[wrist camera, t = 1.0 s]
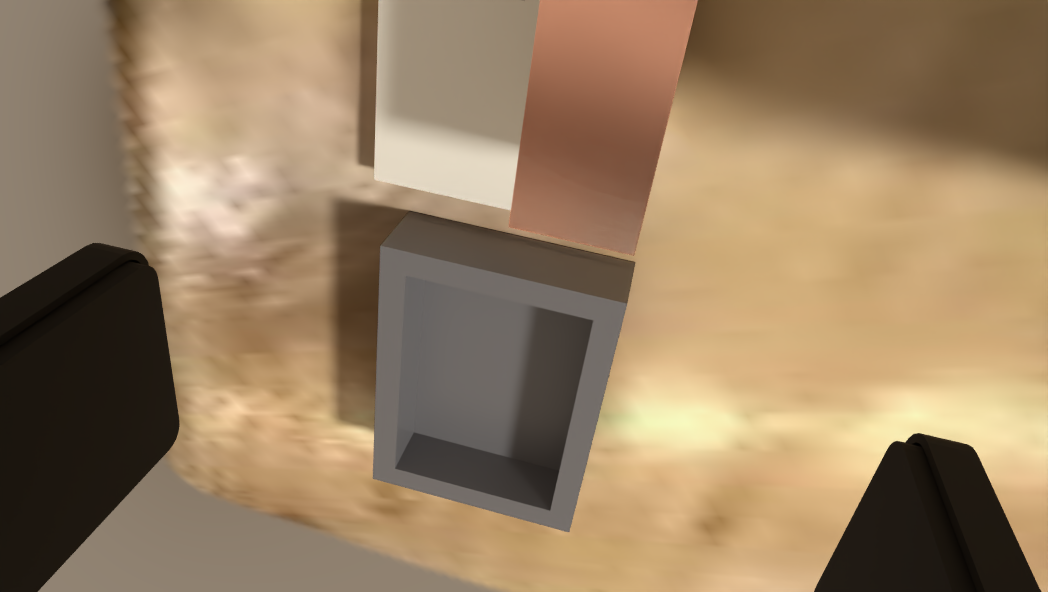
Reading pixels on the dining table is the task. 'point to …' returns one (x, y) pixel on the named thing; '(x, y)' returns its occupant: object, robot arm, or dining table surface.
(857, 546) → the robot arm
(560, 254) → the tray
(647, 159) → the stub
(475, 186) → the cream slab
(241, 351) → the dining table surface
